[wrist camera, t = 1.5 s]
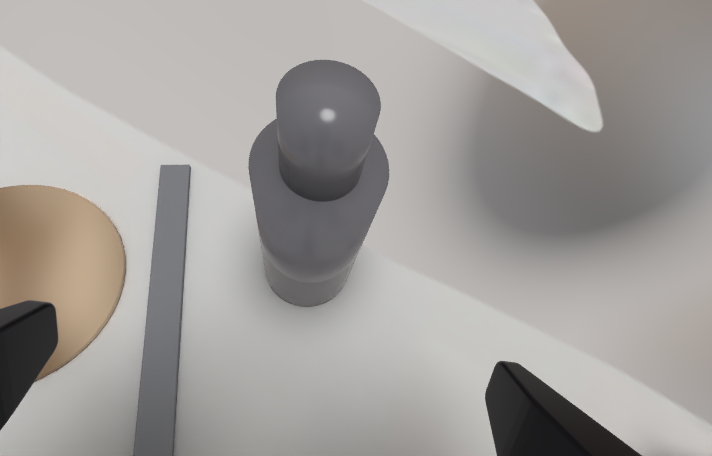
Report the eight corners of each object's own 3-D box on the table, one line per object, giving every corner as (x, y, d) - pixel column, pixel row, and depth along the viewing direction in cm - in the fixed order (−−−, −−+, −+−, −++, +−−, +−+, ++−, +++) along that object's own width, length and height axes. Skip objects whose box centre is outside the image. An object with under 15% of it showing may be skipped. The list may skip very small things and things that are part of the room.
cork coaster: (-46, 450, 17) (-53, 451, 16) (-164, 277, 18) (-173, 274, 18) (168, 284, 20) (166, 282, 20) (52, 155, 22) (48, 151, 22)
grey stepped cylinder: (305, 324, 21) (327, 211, 9) (247, 264, 22) (198, 87, 10) (364, 267, 22) (449, 109, 11) (309, 213, 23) (329, 11, 11)
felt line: (170, 498, 17) (168, 500, 17) (131, 504, 17) (128, 506, 16) (190, 167, 23) (189, 164, 23) (162, 167, 23) (160, 165, 23)
